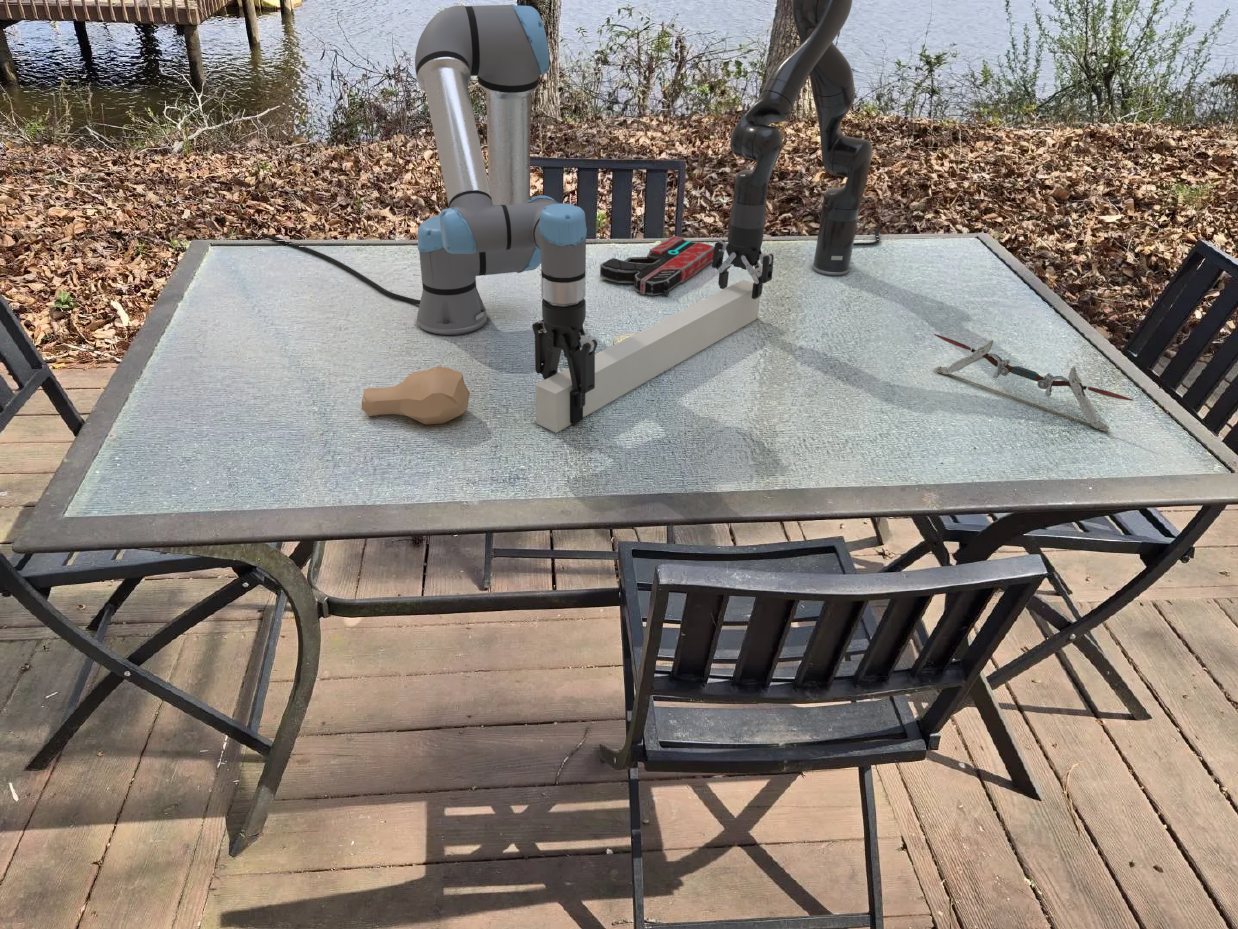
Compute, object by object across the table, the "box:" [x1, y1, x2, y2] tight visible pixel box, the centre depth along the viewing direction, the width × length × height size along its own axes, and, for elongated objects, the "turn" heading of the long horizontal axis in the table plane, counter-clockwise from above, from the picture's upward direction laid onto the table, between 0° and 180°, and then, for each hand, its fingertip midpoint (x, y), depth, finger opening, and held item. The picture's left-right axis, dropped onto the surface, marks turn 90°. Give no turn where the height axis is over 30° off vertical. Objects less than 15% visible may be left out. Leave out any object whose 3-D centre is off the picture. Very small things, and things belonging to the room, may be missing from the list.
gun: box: [599, 235, 715, 297], centre depth 224 cm, size 4×31×19 cm
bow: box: [934, 333, 1134, 432], centre depth 170 cm, size 39×2×10 cm, turn 47°
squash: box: [361, 365, 471, 426], centre depth 160 cm, size 11×20×9 cm, turn 90°
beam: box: [534, 279, 761, 434], centre depth 180 cm, size 68×5×8 cm, turn 140°
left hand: (565, 415), depth 163 cm, fingers closed on beam, 5 cm apart
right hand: (739, 292), depth 196 cm, fingers open, 8 cm apart
